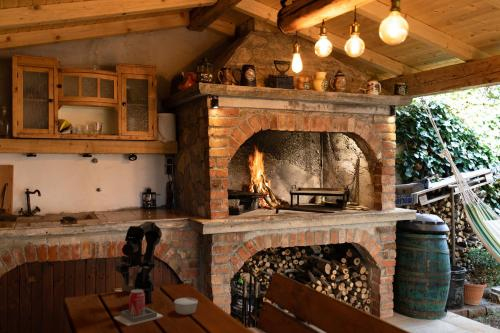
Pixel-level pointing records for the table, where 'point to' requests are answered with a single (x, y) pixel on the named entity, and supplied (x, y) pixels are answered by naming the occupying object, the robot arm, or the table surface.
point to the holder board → (131, 320)
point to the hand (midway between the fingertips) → (135, 283)
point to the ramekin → (185, 305)
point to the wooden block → (133, 277)
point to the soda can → (136, 302)
